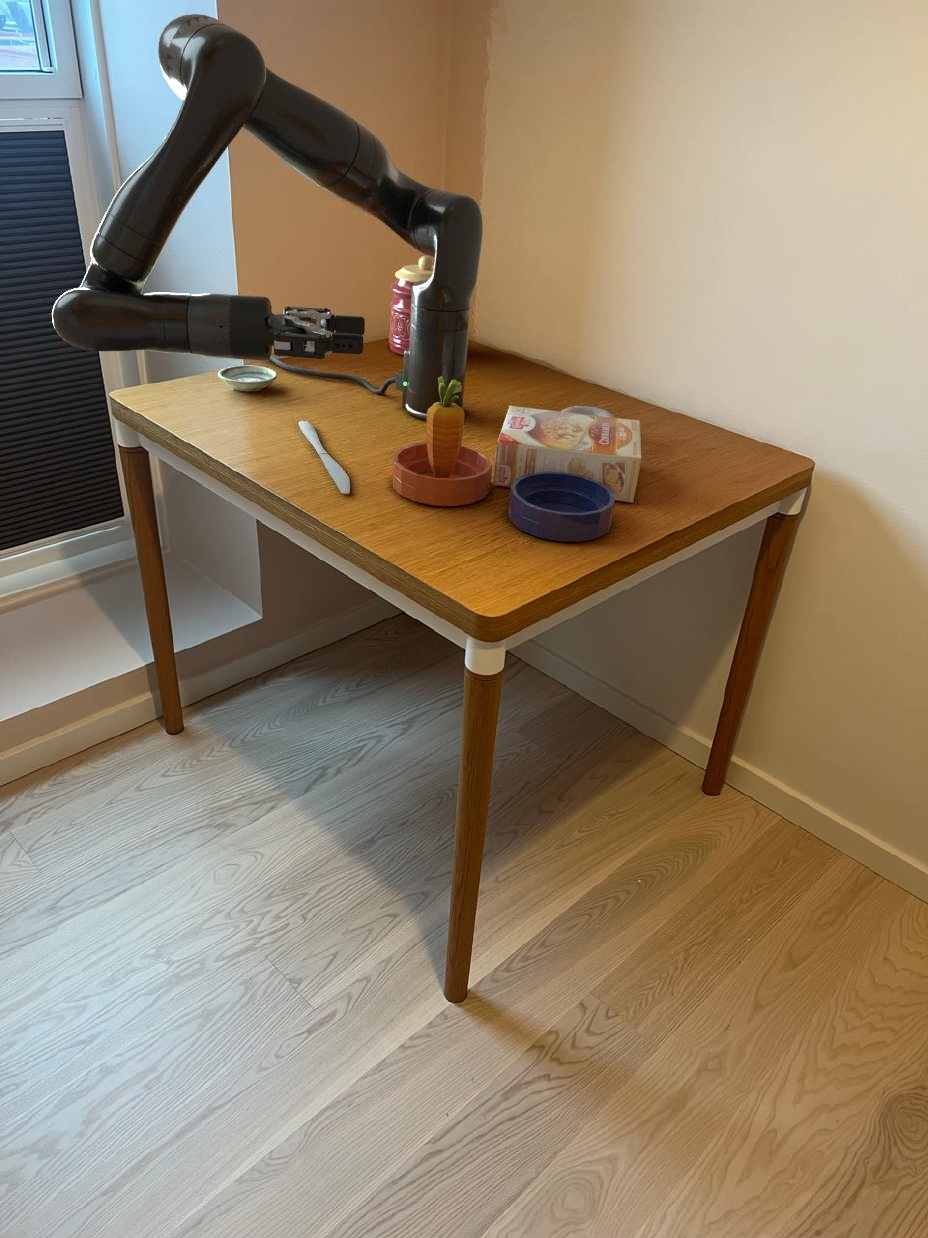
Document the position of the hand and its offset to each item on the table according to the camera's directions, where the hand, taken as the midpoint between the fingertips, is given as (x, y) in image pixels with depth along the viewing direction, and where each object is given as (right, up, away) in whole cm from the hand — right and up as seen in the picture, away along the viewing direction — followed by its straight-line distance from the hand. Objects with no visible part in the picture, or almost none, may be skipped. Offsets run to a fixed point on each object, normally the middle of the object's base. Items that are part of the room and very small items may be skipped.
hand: (364, 334), depth 113 cm
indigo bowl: (+25, -22, +5) cm, 34 cm away
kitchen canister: (+4, +18, +68) cm, 70 cm away
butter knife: (-7, -12, +18) cm, 23 cm away
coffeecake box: (+37, -13, +16) cm, 42 cm away
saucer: (-24, +4, +41) cm, 48 cm away
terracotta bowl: (+9, -17, +12) cm, 23 cm away
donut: (+32, -6, +34) cm, 47 cm away
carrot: (+9, -17, +12) cm, 23 cm away
